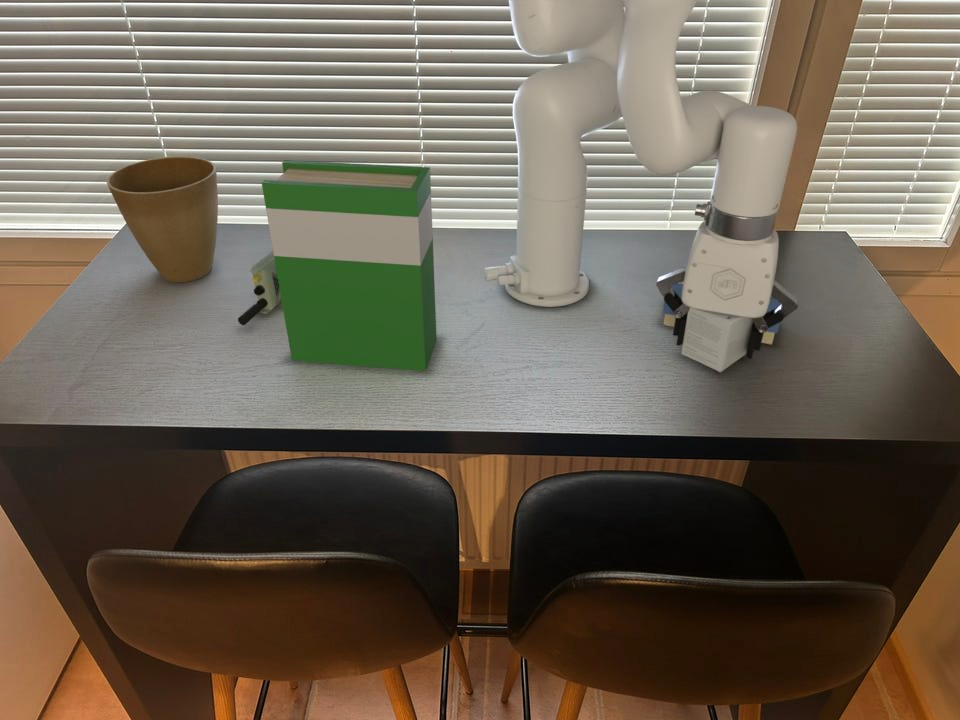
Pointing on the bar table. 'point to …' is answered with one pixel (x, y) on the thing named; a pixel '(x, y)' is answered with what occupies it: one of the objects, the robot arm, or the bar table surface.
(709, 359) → the product box
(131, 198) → the plant pot
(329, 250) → the hardback book
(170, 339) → the bar table surface
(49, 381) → the bar table surface
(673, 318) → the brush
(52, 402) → the bar table surface
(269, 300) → the handheld radio
